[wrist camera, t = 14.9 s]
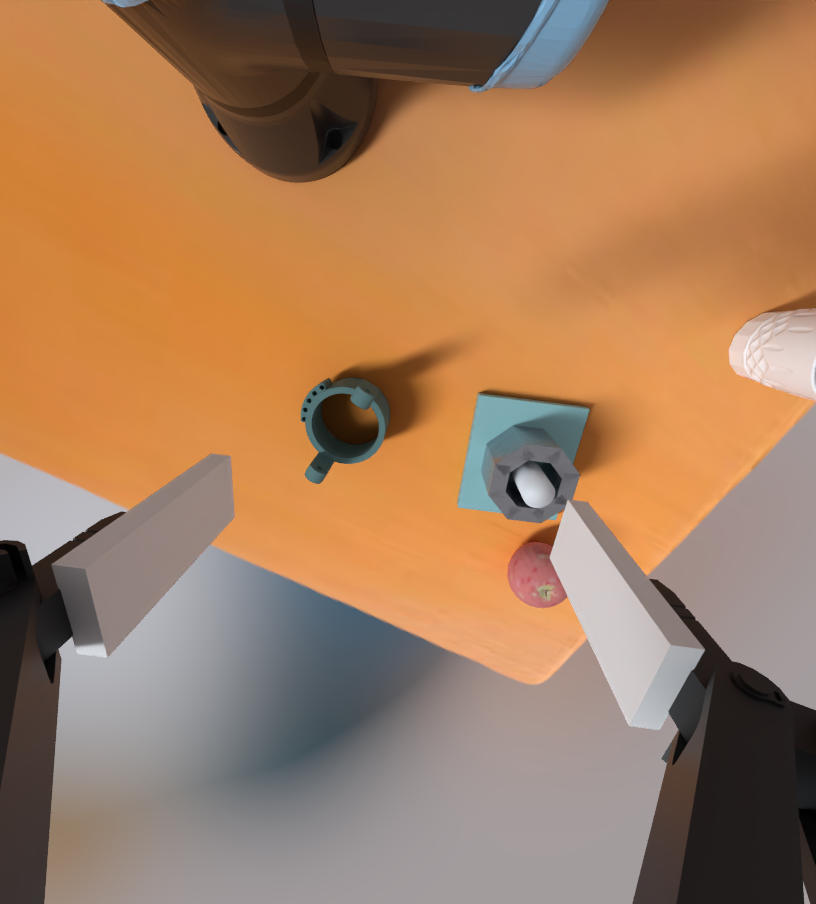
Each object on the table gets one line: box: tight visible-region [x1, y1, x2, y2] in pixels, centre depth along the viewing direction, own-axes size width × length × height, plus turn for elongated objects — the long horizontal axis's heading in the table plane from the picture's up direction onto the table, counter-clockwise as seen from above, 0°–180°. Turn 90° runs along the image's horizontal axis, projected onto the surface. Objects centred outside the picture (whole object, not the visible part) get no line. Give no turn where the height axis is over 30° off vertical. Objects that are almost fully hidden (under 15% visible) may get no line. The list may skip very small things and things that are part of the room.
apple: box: [508, 542, 567, 608], centre depth 46 cm, size 7×7×8 cm
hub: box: [481, 426, 580, 523], centre depth 40 cm, size 8×8×6 cm
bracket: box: [301, 377, 390, 484], centre depth 39 cm, size 9×9×9 cm
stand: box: [457, 393, 590, 520], centre depth 40 cm, size 14×12×9 cm
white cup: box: [729, 308, 816, 401], centre depth 34 cm, size 8×8×10 cm
